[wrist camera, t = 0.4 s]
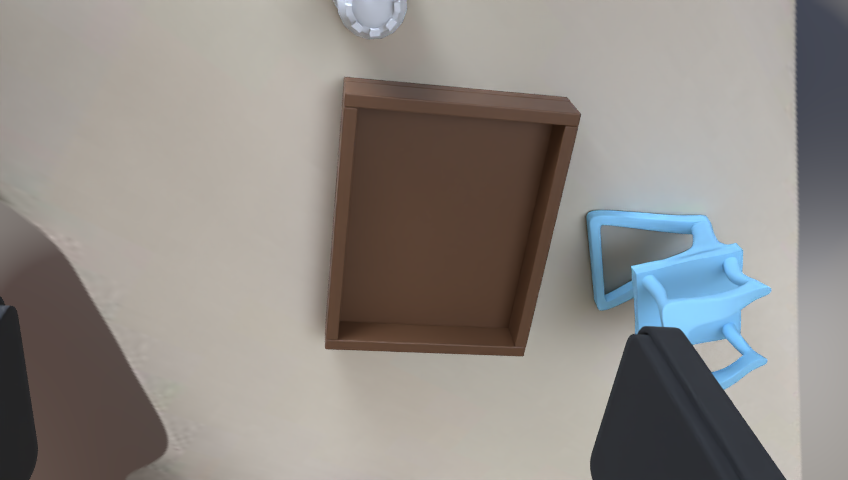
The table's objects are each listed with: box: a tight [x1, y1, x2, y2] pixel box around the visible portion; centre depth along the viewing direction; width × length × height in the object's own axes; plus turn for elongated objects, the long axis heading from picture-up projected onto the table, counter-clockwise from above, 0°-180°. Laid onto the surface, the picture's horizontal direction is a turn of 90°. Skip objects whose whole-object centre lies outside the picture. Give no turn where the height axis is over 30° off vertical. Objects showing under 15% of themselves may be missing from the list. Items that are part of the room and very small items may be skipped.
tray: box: [325, 77, 581, 356], centre depth 47 cm, size 18×14×3 cm
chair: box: [586, 210, 771, 390], centre depth 46 cm, size 8×8×12 cm
